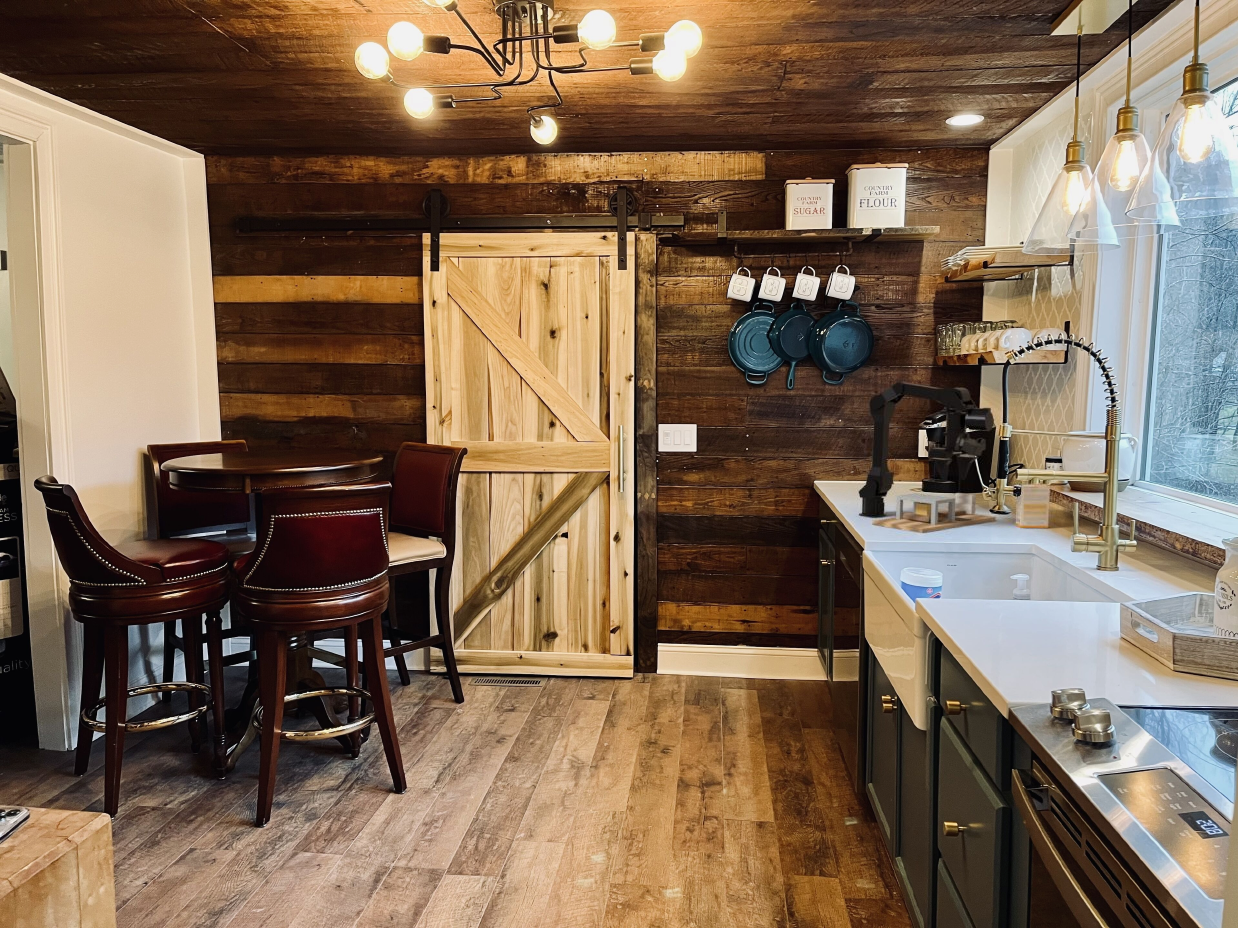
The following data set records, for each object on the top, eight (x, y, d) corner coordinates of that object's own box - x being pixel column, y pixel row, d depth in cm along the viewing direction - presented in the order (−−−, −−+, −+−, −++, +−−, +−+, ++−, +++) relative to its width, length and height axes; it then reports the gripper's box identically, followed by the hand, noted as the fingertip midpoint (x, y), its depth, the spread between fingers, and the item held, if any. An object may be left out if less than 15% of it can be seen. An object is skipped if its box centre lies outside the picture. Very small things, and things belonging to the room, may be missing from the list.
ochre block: (915, 515, 270) (916, 503, 269) (923, 514, 272) (923, 502, 272) (926, 517, 266) (927, 504, 266) (934, 516, 269) (935, 503, 268)
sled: (903, 518, 270) (904, 499, 270) (954, 510, 286) (954, 492, 285) (928, 522, 263) (929, 502, 263) (979, 514, 278) (979, 495, 278)
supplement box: (1042, 525, 266) (1044, 483, 265) (1048, 528, 261) (1050, 485, 260) (1014, 525, 267) (1016, 483, 266) (1020, 528, 262) (1022, 485, 261)
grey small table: (895, 522, 272) (896, 495, 272) (915, 519, 278) (916, 493, 277) (934, 528, 261) (935, 500, 260) (954, 525, 267) (955, 498, 266)
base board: (872, 524, 269) (872, 520, 269) (945, 513, 291) (945, 509, 290) (922, 532, 254) (922, 528, 254) (995, 520, 276) (995, 516, 276)
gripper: (960, 431, 251) (958, 485, 252) (998, 429, 261) (996, 481, 263) (927, 429, 260) (925, 481, 262) (965, 427, 270) (963, 477, 272)
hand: (953, 480), depth 264 cm, fingers open, 9 cm apart
